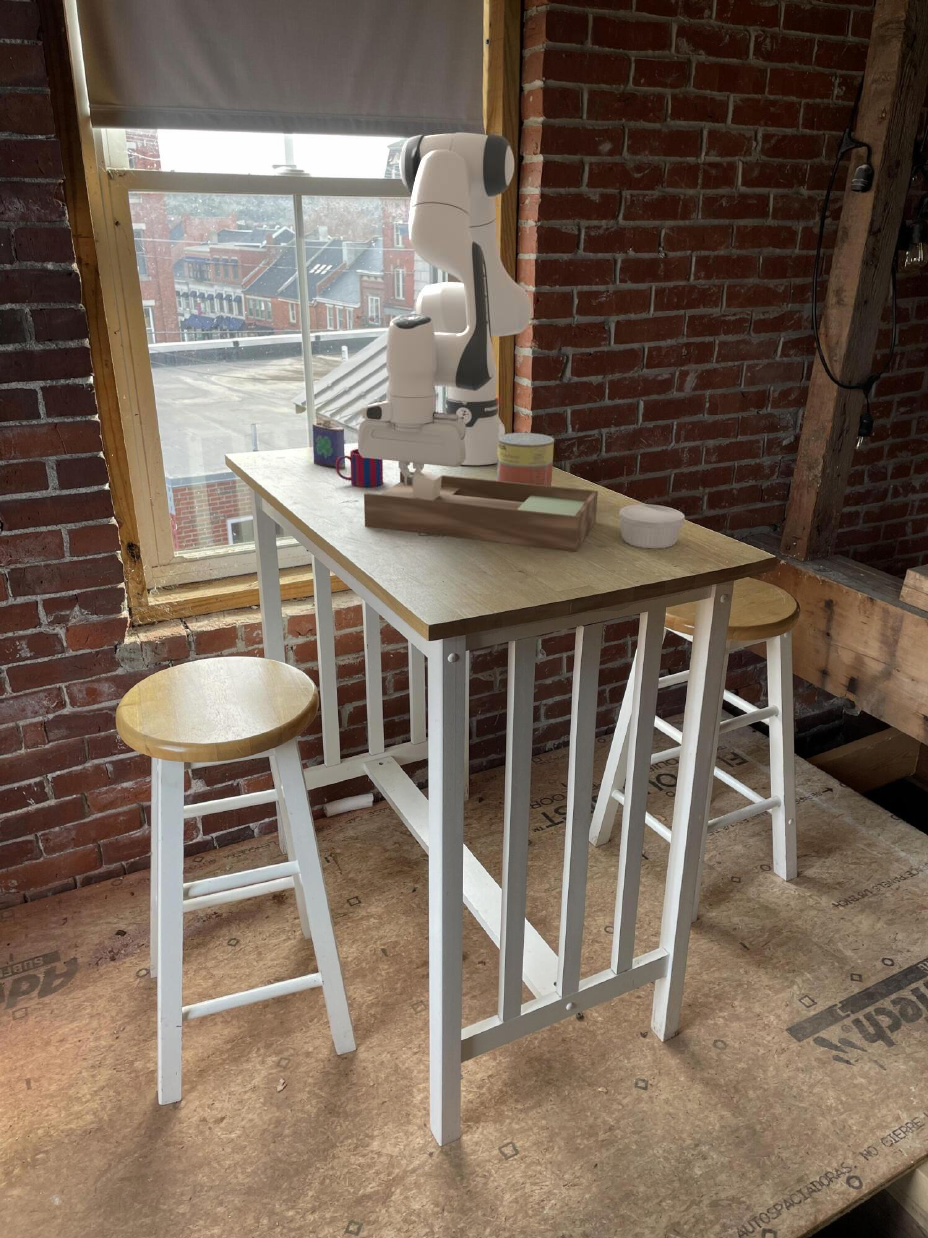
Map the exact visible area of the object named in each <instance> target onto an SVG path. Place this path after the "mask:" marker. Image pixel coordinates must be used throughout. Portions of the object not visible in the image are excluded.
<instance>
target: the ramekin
mask: <svg viewBox="0 0 928 1238" xmlns="http://www.w3.org/2000/svg"><path fill="white" fill-rule="evenodd" d="M618 515H619V516H618V517H619V519H620V533H621V538H622V539H623V540H624V542H626V544H628V543H629V544H628V545H630V546H632V545H633V547H636V546H637V547H636V548H640V547H641V549H647V548H663V549H667V548H666V547H668V548H670V547H669V546H671V547H673V546H674V545H675V544H676V543H677V541H678V539H679V535H680V533H681V530H682V527H683V525H684V523H685V520H686V519H685V518H686V516H685V514H684V513H683V512H682V511H680V510H677V509H674V508H672V507H668V506H664V505H657V504H643V503H642V504H639V503H638V504H632V505H631V504H630V505H626V506H624V507H622V508H621V509H620V510H619V514H618ZM672 545H673V546H672Z"/></svg>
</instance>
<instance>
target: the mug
mask: <svg viewBox="0 0 928 1238" xmlns="http://www.w3.org/2000/svg"><path fill="white" fill-rule="evenodd" d="M349 452H350V453H349V455H345V456H340V457H339V458H338V459H337V461H336V468H335V471H336V474H337V475H338V476H339V477H340V478H342V479H343V480H346V481H349V482H351V485H352V486H354V487H357V488H375V487H380V486H382V485H383V483H384V472H383V471H384V465H383V463H384V462H383V461H384V460H382V459H373V458H363V457H362V456H361V455H360V453H359V452H358V448H355V449H352V450H350V451H349ZM342 458H345V459H347V460H349V461H350V477H347V476H345V475H343V474H341V472H340V469H339V468H338V465H339V462H340V460H341V459H342Z"/></svg>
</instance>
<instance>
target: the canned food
mask: <svg viewBox="0 0 928 1238" xmlns="http://www.w3.org/2000/svg"><path fill="white" fill-rule="evenodd" d="M554 444H555V438H554V437H552V436H550V435H547V434H542V433H534V432H511V433H510V432H509V433H505V434H503V435H500V436H499V437H498V454H497V463H496V481H506V482H516V483H526V484H536V485H546V486H552V480H553V479H552V478H553V466H554V465H553V463H554V462H553V461H554V447H555V446H554Z"/></svg>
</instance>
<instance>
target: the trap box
mask: <svg viewBox="0 0 928 1238" xmlns="http://www.w3.org/2000/svg"><path fill="white" fill-rule="evenodd" d="M410 473H411V475H413V473H414V471H410ZM441 475H442V481H441V489H440V496H439V497H437V498H436V499H435V500H426V499H420V498H415V497H412V491H413V486H406V485H405V483H404V476H403V474H402V472H401V470H400V471H399V482H397V483H395V484H394V485H393V486H391V487H390V488H388V489H387V490H385V491H384V492H382V493H369V492H365V493H363V502H364V503H363V504H364V505H363V506H364V507H363V508H364V510H363V511H364V513H363V514H364V527H369V528H377V529H378V528H379V529H388V530H394V531H395V530H396V531H401V532H410V533H419V534H428V535H435V536H436V535H437V536H444V537H445V536H446V537H453V538H459V539H460V538H462V539H468V540H478V541H483V542H484V541H485V542H493V543H501V544H509V545H510V544H512V545H519V546H528V547H535V548H536V547H537V548H545V549H550V550H560V551H568V552H574V553H575V552H577V551H578V549H579V547H580V546H581V545H582V543H583V541H584V540H585V538H586V537H587V536H588V534H589V532H590V531H591V529H592V528H593V527H594V525H595V523H596V519H597V510H598V509H597V506H598V495H599V491H598V490H593V489H592V490H591V489H584V488H583V489H582V488H575V487H574V488H573V487H565V486H564V487H562V486H553V485H551V486H546V485H536V484H526V483H516V482H506V481H497V479H494V480H493V479H486V478H485V479H484V478H474V477H468V476H467V477H466V476H465V477H464V476H456V475H443V474H441Z"/></svg>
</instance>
